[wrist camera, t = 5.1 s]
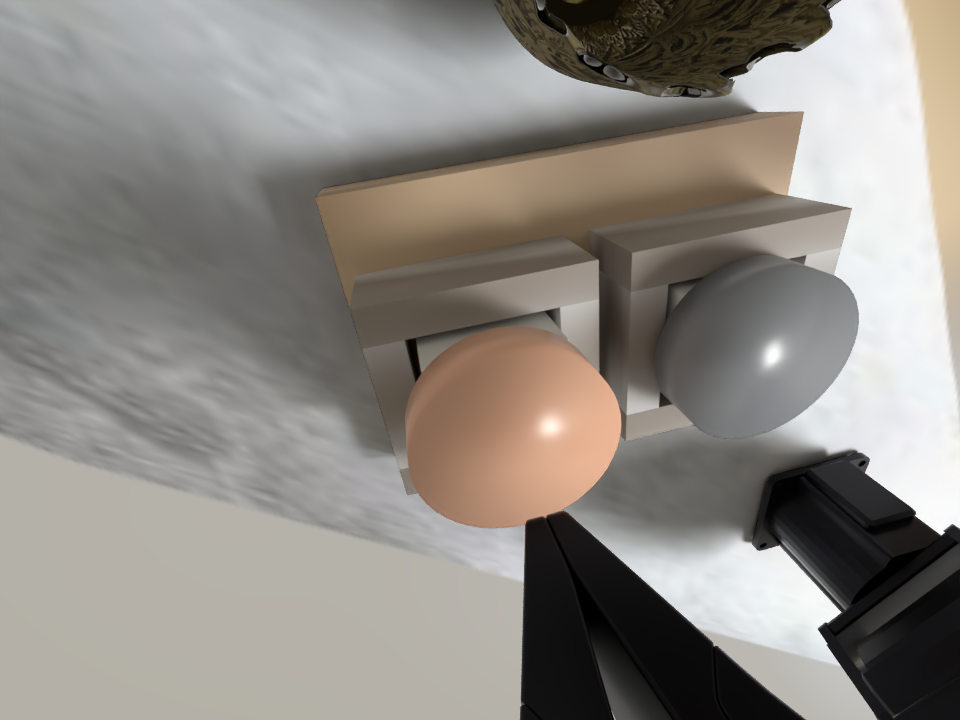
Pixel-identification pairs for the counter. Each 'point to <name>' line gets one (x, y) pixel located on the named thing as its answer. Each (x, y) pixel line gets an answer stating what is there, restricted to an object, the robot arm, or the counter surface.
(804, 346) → the plunger grey
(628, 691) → the robot arm
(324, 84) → the counter surface
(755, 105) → the counter surface
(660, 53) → the cup
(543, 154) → the button board
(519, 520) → the plunger terracotta
